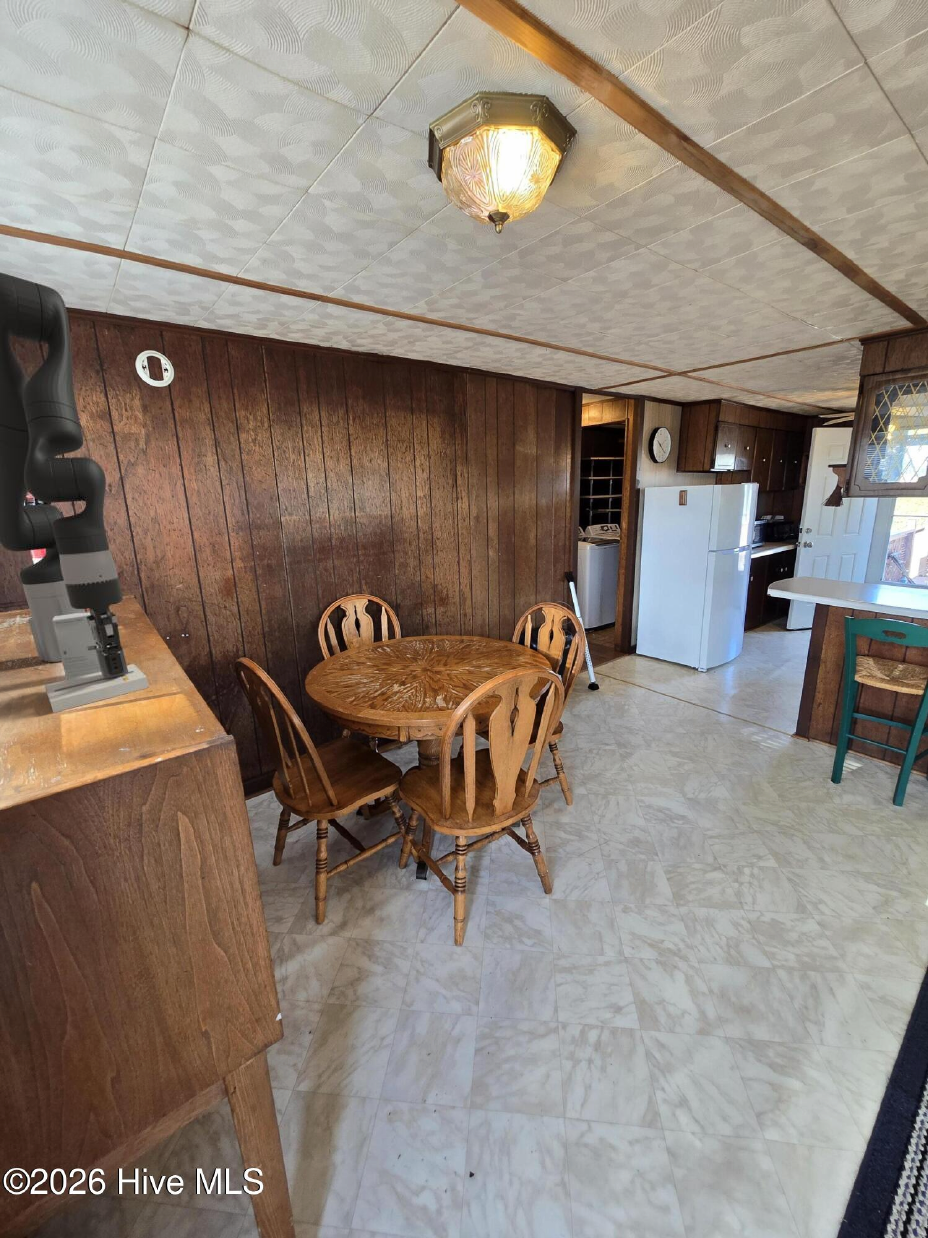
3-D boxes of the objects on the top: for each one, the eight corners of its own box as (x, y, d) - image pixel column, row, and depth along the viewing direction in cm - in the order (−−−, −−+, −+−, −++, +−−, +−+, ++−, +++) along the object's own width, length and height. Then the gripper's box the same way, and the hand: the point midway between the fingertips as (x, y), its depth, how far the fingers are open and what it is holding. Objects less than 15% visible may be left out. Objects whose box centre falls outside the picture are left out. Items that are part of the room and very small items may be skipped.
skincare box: (66, 681, 95) (49, 620, 92) (68, 674, 99) (52, 616, 96) (105, 673, 98) (89, 614, 95) (106, 667, 102) (91, 610, 99)
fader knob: (104, 678, 88) (97, 651, 86) (102, 675, 90) (95, 648, 89) (128, 673, 90) (122, 646, 89) (125, 669, 92) (118, 643, 91)
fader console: (53, 712, 80) (50, 701, 80) (47, 695, 88) (44, 684, 88) (149, 687, 89) (146, 676, 89) (135, 673, 97) (133, 663, 96)
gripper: (125, 578, 83) (147, 674, 87) (110, 571, 93) (131, 658, 97) (69, 585, 78) (96, 687, 82) (60, 578, 88) (84, 669, 92)
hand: (114, 671), depth 90 cm, fingers closed on fader knob, 3 cm apart
